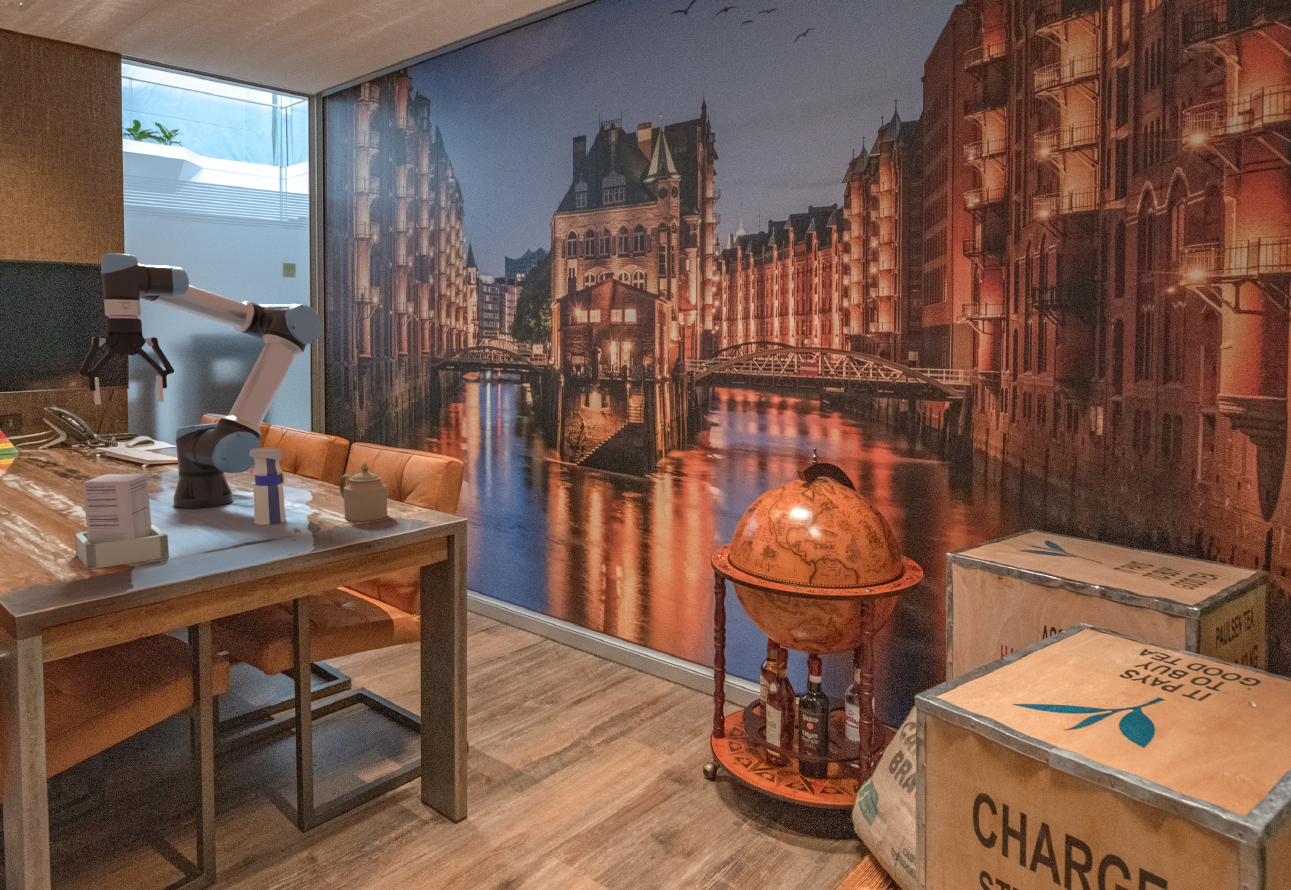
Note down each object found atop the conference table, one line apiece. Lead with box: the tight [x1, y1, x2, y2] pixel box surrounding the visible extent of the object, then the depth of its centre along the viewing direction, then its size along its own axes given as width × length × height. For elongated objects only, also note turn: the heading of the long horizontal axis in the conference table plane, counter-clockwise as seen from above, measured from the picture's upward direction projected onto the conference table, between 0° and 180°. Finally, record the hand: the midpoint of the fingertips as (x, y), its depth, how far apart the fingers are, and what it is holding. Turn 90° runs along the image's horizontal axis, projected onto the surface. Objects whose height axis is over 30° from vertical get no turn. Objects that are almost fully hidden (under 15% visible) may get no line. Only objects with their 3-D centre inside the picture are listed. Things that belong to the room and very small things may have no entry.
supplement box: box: [82, 473, 152, 544], centre depth 178 cm, size 10×9×17 cm
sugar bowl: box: [338, 462, 388, 522], centre depth 219 cm, size 15×11×15 cm
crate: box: [74, 522, 170, 570], centre depth 179 cm, size 15×15×5 cm
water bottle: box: [249, 427, 287, 526], centre depth 212 cm, size 8×9×25 cm
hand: (130, 402), depth 203 cm, fingers open, 13 cm apart
